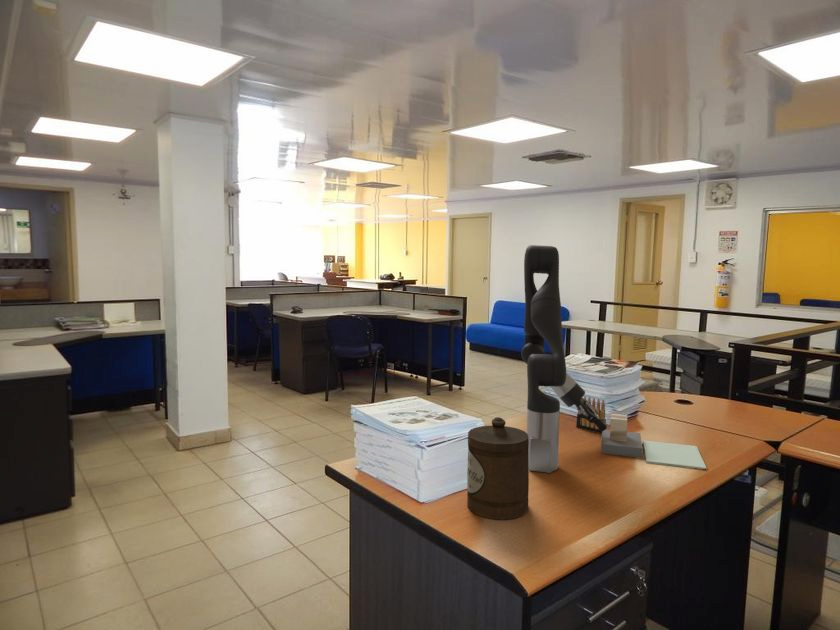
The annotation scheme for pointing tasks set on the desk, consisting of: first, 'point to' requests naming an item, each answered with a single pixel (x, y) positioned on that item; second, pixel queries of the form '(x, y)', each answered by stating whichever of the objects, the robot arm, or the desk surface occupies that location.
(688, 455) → the mat
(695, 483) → the desk surface
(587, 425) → the ammunition clip
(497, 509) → the wooden container
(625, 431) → the birch block
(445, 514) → the desk surface
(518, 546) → the desk surface
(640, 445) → the plate
